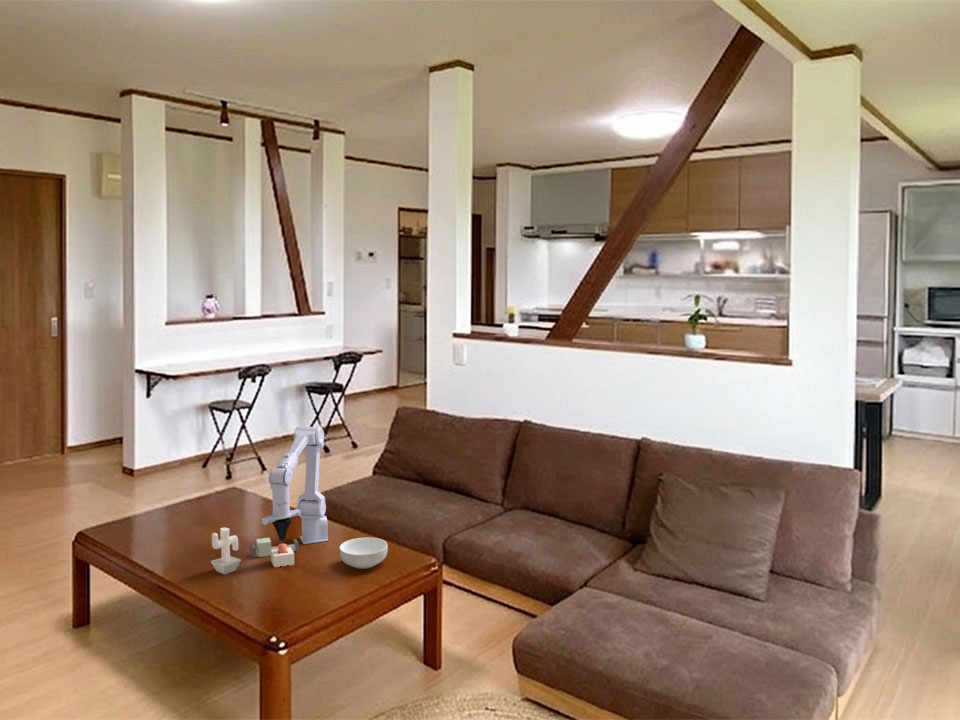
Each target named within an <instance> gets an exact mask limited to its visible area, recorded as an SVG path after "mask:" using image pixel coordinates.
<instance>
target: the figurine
mask: <svg viewBox="0 0 960 720" xmlns="http://www.w3.org/2000/svg"><path fill="white" fill-rule="evenodd" d="M219 531H220V534H219V535H218V533H216V532H212V533H211V546H212V548H213V549H214V550H218V549H220V551H221V553H220V555H221V557H219V558H216V559H213V560H211V561H210V563H211V564H212V566H213V568H214V570H215V571H216V572H217V573H220V574H222V575H227V574H230V573H233V572H235V571H237V569H238V567H239V565H240V564H241V561H242V559H240V558H237V557H234V556H231V550H230V549H231V548H230V547H231V546H232V550H233V551H238V550H239V538H238V536H237V535H236V534H235V535H230V528H229V527H226V526H224V527H221V528H220V529H219ZM219 536H220V539H219Z"/></svg>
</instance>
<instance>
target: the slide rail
mask: <svg viewBox="0 0 960 720" xmlns="http://www.w3.org/2000/svg"><path fill="white" fill-rule="evenodd" d="M288 547H291V548H292V550H293V552H294V553H299V541H298V539H297V538H295V539H293V544H292V543H291V544H286V548H288ZM273 549H278V545H277V546H271V550H273ZM251 556H252V558H253V559H254V558H255V559H256V558H257V557H258V550H257V548H256V545H255V544H251ZM258 558H259V557H258Z"/></svg>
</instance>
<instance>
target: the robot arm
mask: <svg viewBox="0 0 960 720" xmlns="http://www.w3.org/2000/svg"><path fill="white" fill-rule="evenodd" d="M324 444H325V432H324V430H323V428H322V427H321V426H317V427H316V426H303V425H302V426H301V425H298V426H296V427H295V429H294V431H293V442H292V444H291V447H290V449H289V451H288V452H286V453H284V454H283V455H282V457H281V459H280V460H279V462H278V463H277V465H276V467H273V469H271V470H270V471H269V474H268V483H269V485H270V490H271V491H272V492H271V493H272V494H271V495H272V496H271V497H272V514H270V515H269V514H268V516H265V517H262V518H261V524H262V525H268V524H270V523H271V524H272V525H273V527H274V529H275V531H276V533H277V538H278V540H279V541H285V540H286V537H287V533H288V531H289V528H290V526H291V523H292V519H290V518H294V517H299V518H300V519H301V536H299V538H300V541H301V542H302V544H303V545H307V544H313V543H314V544H315V543H323V542H328V541H329V533H328V532H329V529H328V527H329V526H328V518H327V515H325V514H326V510H327V504H326V497H325V496H324V495H323V494H322V493H321V492H320V491H319V485H320V484H319V483H320V480H319V479H320V463H321V462H320V458H321V450H322V449H323V448H324ZM303 450H305V451H306V458H305V459H306V461H305V484H304V492H302V493H301V494H300V495H299V496H298V500H297V504H296V509H291V508H290V507H291V506H290V504H291V503H290V484H292V480H293V475H294V470H295V468H296V467H297V466H298V463H299V456H300V454H301V453H302V451H303Z"/></svg>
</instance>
